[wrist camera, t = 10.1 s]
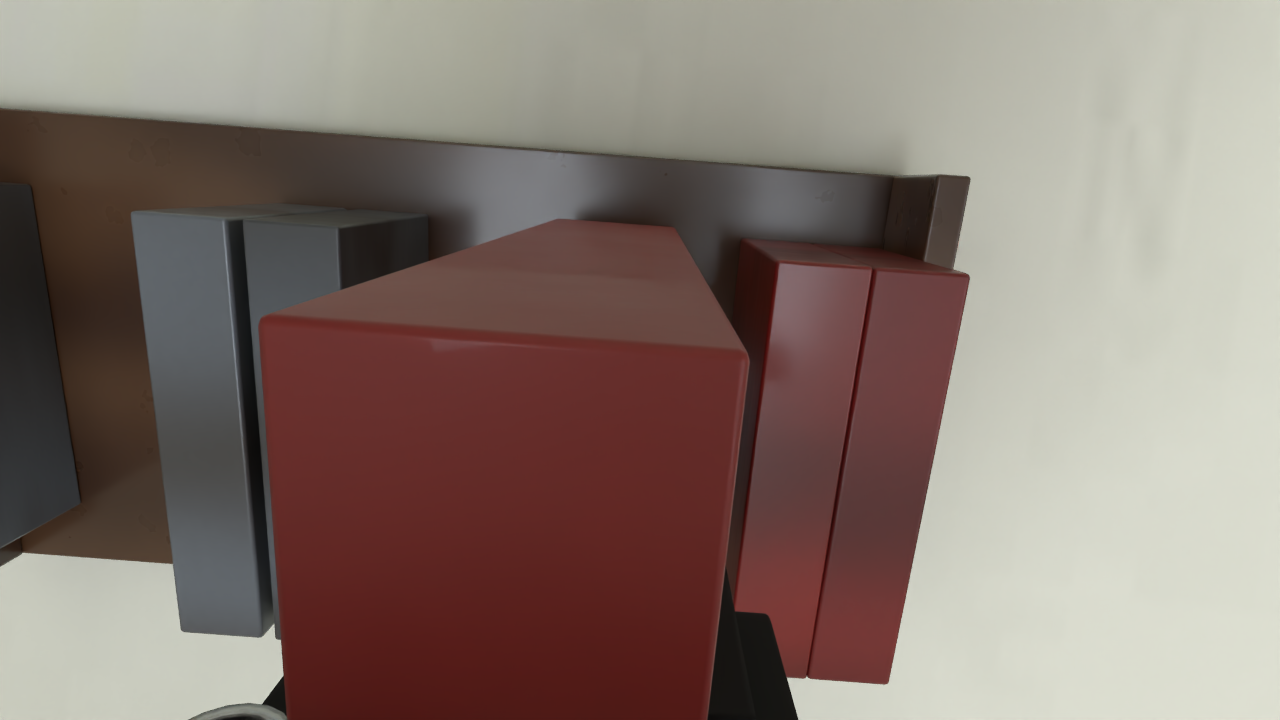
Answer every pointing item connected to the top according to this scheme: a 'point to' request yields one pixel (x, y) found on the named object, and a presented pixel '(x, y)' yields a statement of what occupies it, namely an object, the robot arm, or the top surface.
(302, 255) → the book rack
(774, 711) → the robot arm
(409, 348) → the red book
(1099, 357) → the top surface
